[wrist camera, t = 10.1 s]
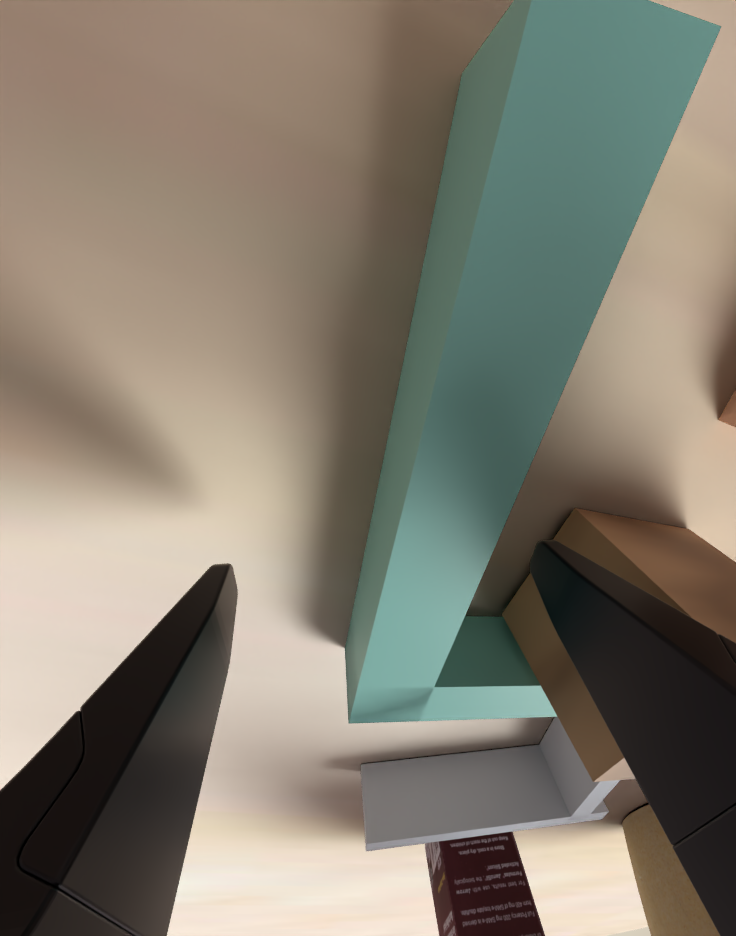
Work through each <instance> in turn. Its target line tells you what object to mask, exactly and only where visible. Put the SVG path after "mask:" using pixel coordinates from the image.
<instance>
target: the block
mask: <svg viewBox="0 0 736 936" xmlns="http://www.w3.org/2000/svg"><path fill="white" fill-rule="evenodd" d="M553 540H556V541H558V542H560V543H561V544H563V545H565V546H567V547H568V548H570V549H572V550H574V551H575V552H577V553H579V554H581V555H583V556H584V557H586V558H588V559H590V560H591V561H593V562H595V563H597V564H598V565H600V566H602V567H604V568H605V569H607V570H609V571H611V572H612V573H614V574H616V575H618V576H619V577H621V578H623V579H625V580H626V581H628V582H630V583H632V584H633V585H635V586H637V587H639V588H640V589H642V590H644V591H646V592H647V593H649V594H651V595H653V596H654V597H656V598H658V599H660V600H661V601H663V602H665V603H667V604H668V605H670V606H672V607H674V608H675V609H677V610H679V611H681V612H682V613H684V614H686V615H688V616H689V617H691V618H693V619H695V620H696V621H698V622H700V623H702V624H703V625H705V626H707V627H709V628H710V629H712V630H714V631H716V632H717V634H721V635H723V636H725V637H726V638H728V639H730V640H732V641H733V642H735V643H736V562H734V561H733V560H732V559H730V558H729V557H727V556H726V555H725V554H723V553H722V552H720V551H719V550H717V549H716V548H715V547H713V546H712V545H710V544H709V543H708V542H706V541H705V540H703V539H702V538H701V537H699V536H698V535H696V534H695V533H694V532H692V531H691V530H689V529H686V528H680V527H675V526H669V525H664V524H659V523H653V522H648V521H642V520H637V519H632V518H626V517H621V516H615V515H610V514H604V513H599V512H594V511H588V510H583V509H577V508H574V510H573V511H572V513H571V514H570V515H569V517H568V518H567V520H566V521H565V523H564V524H563V526H562V527H561V529H560V530H559V532H558V533H557V534H556V536H555V537H554V539H553ZM502 616H503V617H504V619H505V621H506V623H507V625H508V627H509V628H510V630H511V632H512V634H513V636H514V638H515V639H516V641H517V643H518V645H519V647H520V649H521V650H522V652H523V654H524V656H525V658H526V660H527V661H528V663H529V665H530V667H531V669H532V671H533V672H534V674H535V676H536V678H537V680H538V682H539V683H540V685H541V687H542V689H543V691H544V693H545V694H546V696H547V698H548V700H549V702H550V704H551V706H552V707H553V709H554V711H555V713H556V715H557V717H558V718H559V720H560V722H561V724H562V726H563V728H564V729H565V731H566V733H567V735H568V737H569V739H570V740H571V742H572V744H573V746H574V748H575V750H576V751H577V753H578V755H579V757H580V759H581V761H582V762H583V764H584V766H585V768H586V770H587V772H588V773H589V775H590V777H591V779H592V781H593V782H600V781H614V780H627V779H635V777H634V775H633V773H632V771H631V769H630V768H629V766H628V764H627V762H626V760H625V758H624V756H623V755H622V753H621V751H620V749H619V747H618V745H617V744H616V742H615V740H614V738H613V736H612V734H611V732H610V731H609V729H608V727H607V725H606V723H605V721H604V719H603V718H602V716H601V714H600V712H599V710H598V708H597V706H596V705H595V703H594V701H593V699H592V697H591V695H590V694H589V692H588V690H587V688H586V686H585V684H584V682H583V681H582V679H581V677H580V675H579V673H578V671H577V669H576V668H575V666H574V664H573V662H572V660H571V658H570V657H569V655H568V653H567V651H566V649H565V647H564V645H563V644H562V642H561V640H560V638H559V636H558V634H557V632H556V630H555V628H554V626H553V624H552V622H551V620H550V618H549V615H548V613H547V610H546V608H545V606H544V603H543V601H542V599H541V596H540V594H539V591H538V589H537V587H536V584H535V582H534V580H533V577H532V575H531V572H530V574H529V575H528V577H527V578H526V580H525V581H524V582H523V584H522V585H521V587H520V588H519V590H518V591H517V593H516V594H515V596H514V597H513V598H512V600H511V601H510V603H509V604H508V606H507V607H506V609H505V610H504V612H503V613H502Z"/></svg>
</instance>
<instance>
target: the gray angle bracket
mask: <svg viewBox="0 0 736 936" xmlns="http://www.w3.org/2000/svg"><path fill="white" fill-rule="evenodd" d="M619 781H620V780H614V781H600V782H593V781H592V779H591V777H590V775H589V773H588V772H587V770H586V768H585V766H584V764H583V762H582V761H581V759H580V757H579V755H578V753H577V751H576V750H575V748H574V746H573V744H572V742H571V740H570V739H569V737H568V735H567V733H566V731H565V729H564V728H563V726H562V724H561V722H560V720H559V718H558V717H554V719H553V721H552V723H551V724H550V726H549V728H548V730H547V732H546V733H545V735H544V737H543V739H542V740H541V742H540V744H539V745H531V746H522V747H513V748H504V749H495V750H486V751H477V752H468V753H459V754H450V755H441V756H432V757H423V758H414V759H405V760H396V761H387V762H378V763H368V764H361V785H362V800H363V814H364V829H365V844H366V851H372V850H379V849H387V848H394V847H401V846H409V845H416V844H424V843H431V842H438V841H446V840H453V839H460V838H468V837H475V836H482V835H490V834H497V833H504V832H512V831H519V830H527V829H534V828H541V827H549V826H556V825H563V824H571V823H578V822H585V821H593V820H600V819H603V817H604V816H605V815H606V814H607V813H608V812H609V811H608V809H607V807H606V805H605V803H604V801H603V799H604V798H605V797H606V796H607V795H608V794H609V792H610V791H611V790H612V789H613V788H614V787H615V786H616V785H617V783H618V782H619Z"/></svg>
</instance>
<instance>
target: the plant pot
mask: <svg viewBox="0 0 736 936" xmlns="http://www.w3.org/2000/svg"><path fill="white" fill-rule="evenodd" d="M622 825H623V830H624V834H625V839H626V843H627V847H628V851H629V855H630V859H631V863H632V867H633V871H634V875H635V879H636V883H637V887H638V891H639V894H640V898H641V901H642V905H643V909H644V912H645V916H646V919H647V923H648V926H649V929H650V933H651V936H720V935H719V933H718V931H717V929H716V927H715V925H714V924H713V922H712V920H711V918H710V916H709V914H708V912H707V911H706V909H705V907H704V905H703V903H702V901H701V900H700V898H699V896H698V894H697V892H696V890H695V888H694V887H693V885H692V883H691V881H690V879H689V877H688V875H687V874H686V872H685V870H684V868H683V866H682V864H681V863H680V861H679V859H678V857H677V855H676V853H675V851H674V850H673V845H672V844H671V843H670V842H669V840H668V838H667V836H666V834H665V832H664V831H663V829H662V827H661V825H660V823H659V821H658V819H657V818H656V816H655V814H654V812H653V810H652V808H651V806H650V805H649V804H648V805H646V806H644V807H642V808H640V809H638V810H636V811H634V812H632V813H631V814H629V815H628V816H627V817H626V818H625V819H624V821H623V823H622Z"/></svg>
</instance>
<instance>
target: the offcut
mask: <svg viewBox="0 0 736 936" xmlns="http://www.w3.org/2000/svg"><path fill="white" fill-rule="evenodd" d="M718 420H719V421H722V422H724V423H727V424H729V425H732V426H734V427H736V389H735V391H734V393H733V395H732V397H731V398H730V400H729V402H728V404H727V405H726V407H725V409H724V411H723V412H722V414H721V416H720V418H719V419H718Z"/></svg>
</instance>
